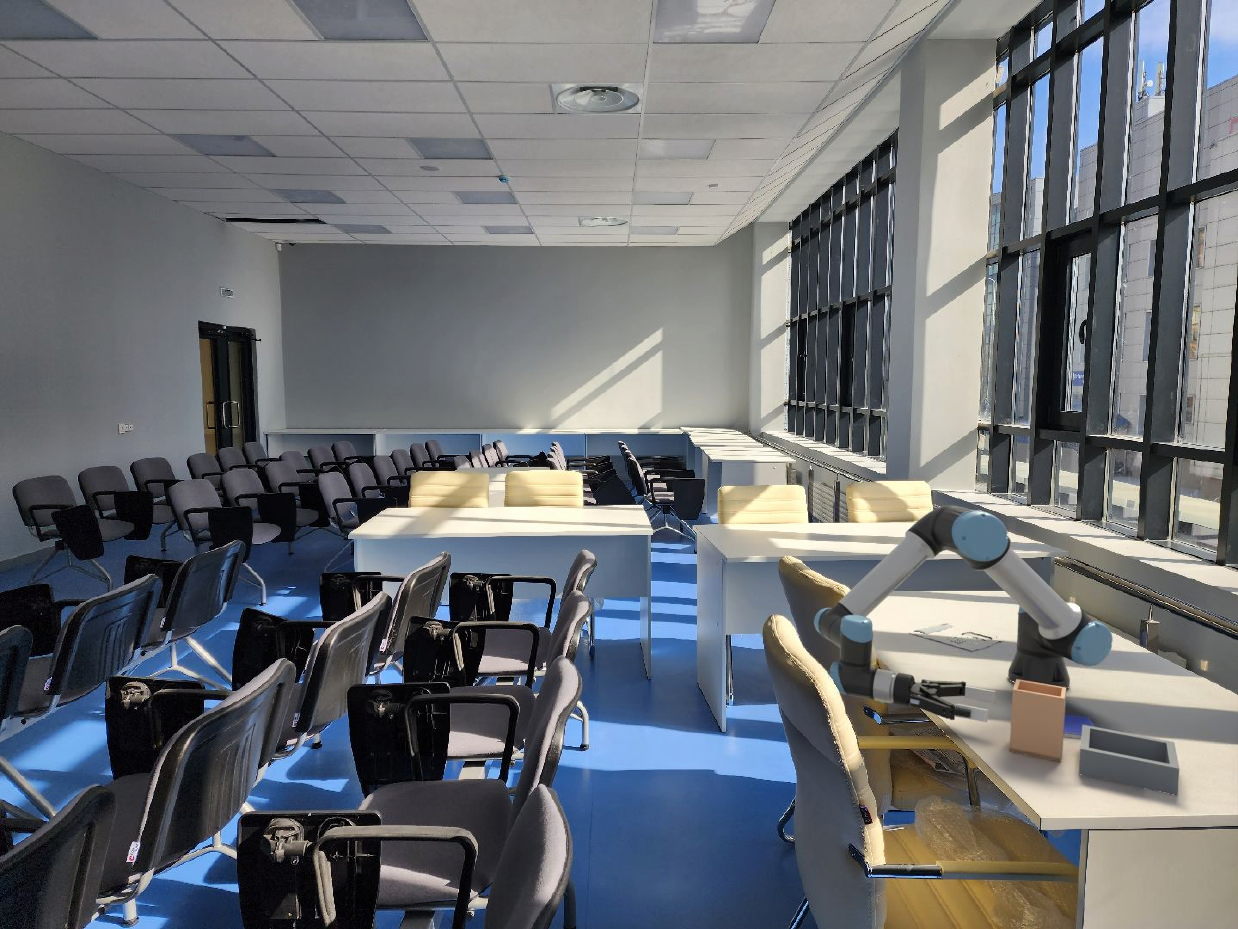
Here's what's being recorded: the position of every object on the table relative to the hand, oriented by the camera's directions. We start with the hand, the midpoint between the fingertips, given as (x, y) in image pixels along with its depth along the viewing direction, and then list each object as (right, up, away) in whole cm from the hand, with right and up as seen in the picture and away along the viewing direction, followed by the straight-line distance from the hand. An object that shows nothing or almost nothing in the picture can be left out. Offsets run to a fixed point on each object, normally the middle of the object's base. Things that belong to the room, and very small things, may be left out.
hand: (991, 706), depth 186 cm
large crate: (+22, -9, -14) cm, 28 cm away
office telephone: (+26, -3, +83) cm, 87 cm away
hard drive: (+24, -9, +8) cm, 27 cm away
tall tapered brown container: (+8, -8, -4) cm, 12 cm away
